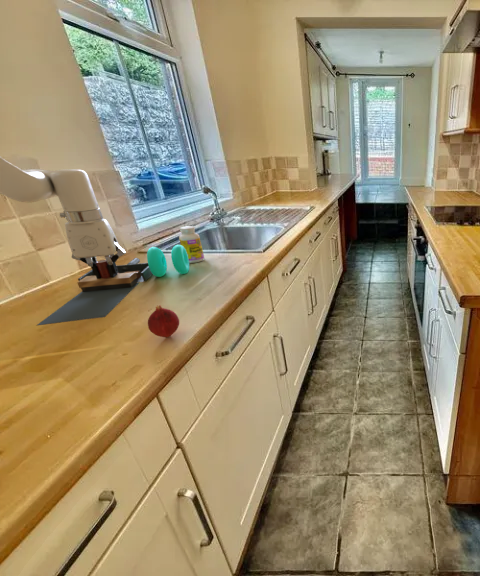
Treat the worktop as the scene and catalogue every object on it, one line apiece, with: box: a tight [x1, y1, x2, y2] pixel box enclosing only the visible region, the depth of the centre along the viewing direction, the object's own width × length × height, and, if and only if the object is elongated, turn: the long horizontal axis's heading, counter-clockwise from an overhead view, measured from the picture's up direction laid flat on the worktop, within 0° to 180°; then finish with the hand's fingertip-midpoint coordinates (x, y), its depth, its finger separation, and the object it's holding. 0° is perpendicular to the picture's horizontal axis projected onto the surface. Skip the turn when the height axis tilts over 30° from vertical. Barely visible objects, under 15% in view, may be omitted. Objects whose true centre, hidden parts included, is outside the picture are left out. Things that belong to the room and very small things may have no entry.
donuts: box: [146, 244, 190, 278], centre depth 106 cm, size 10×10×10 cm
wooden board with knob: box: [76, 259, 139, 292], centre depth 96 cm, size 13×5×8 cm, turn 106°
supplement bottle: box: [178, 225, 205, 264], centre depth 119 cm, size 7×7×13 cm
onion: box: [147, 304, 180, 338], centre depth 71 cm, size 6×6×8 cm
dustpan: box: [77, 257, 153, 283], centre depth 108 cm, size 20×17×3 cm
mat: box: [36, 282, 141, 326], centre depth 89 cm, size 14×24×1 cm, turn 17°
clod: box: [125, 271, 141, 279], centre depth 103 cm, size 4×4×2 cm
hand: (107, 276), depth 97 cm, fingers closed on wooden board with knob, 2 cm apart
